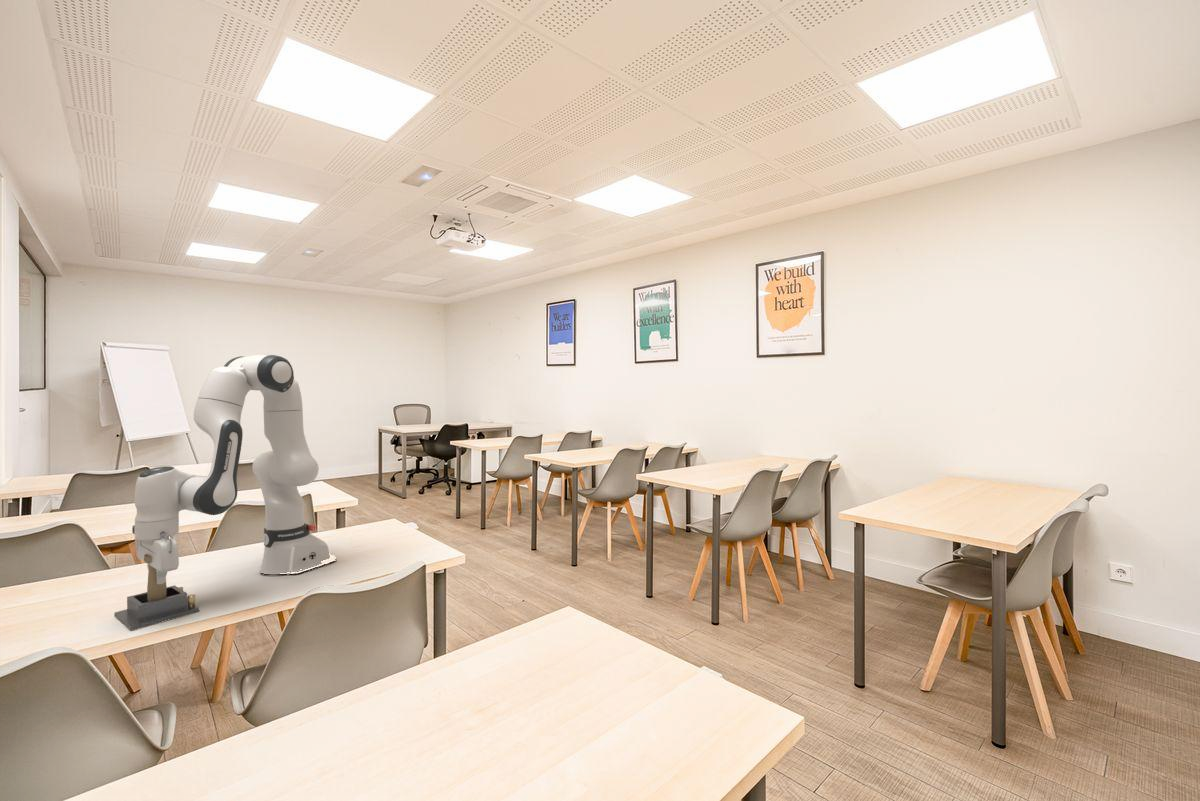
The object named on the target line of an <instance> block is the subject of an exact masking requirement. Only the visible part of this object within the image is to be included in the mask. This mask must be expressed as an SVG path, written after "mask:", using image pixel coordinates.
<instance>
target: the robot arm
mask: <svg viewBox="0 0 1200 801" xmlns="http://www.w3.org/2000/svg"><path fill="white" fill-rule="evenodd" d="M294 374H295V373H294V369H293V365H292V364H291V363H290V362H289V360H288V359H287V358H285V357H283V356H280V355H274V354H269V355H268V354H253V355H248V356H247V355H245V356H237V357H233V358H231V359H230V360H228V361H227V362H225V364H224V365H223V366H218V367H216V368H214V369H211V371H210V372H209V374H208V376H207V377H206V379H205V381H204V383H203V384H202V387H201V389H200V392H199V394H198V396H197V399H196V403H195V406H194V410H193V420H194V422H195V424H196V426H197V427H198V428H199V429H200V430H201V431H202V432H203V433H205V434H207V435H208V437H210V438H211V439H212V441H213V444H214V447H213V448H214V449H213V454H212V459H211V466H210V470H209V471H210V472H209V474H208V475H207V476H203V475H196V474H191V473H186V472H184V471H181V470H179V469H176V468H175V466H165V465H164V466H156V467H153V468H150V469H145V470H144V471H142V472H141V473H139V475H138V476H137V479H136V482H135V487H134V488H135V490H134V505H135V507H136V508H135V509H136V515H135V517H134V525H132V528H131V532H132V534H133V535H134V540H135V544H134V545H135V552H136V557H137V558H138V559H139V560H140V561H142V562H144V563H146V562H145V561H144V555H145V554H147V555H149V556H150V557H152V562H151V563H150V564H148V563H146V564H147V565H146V566H147V571H149V565H150V566H152V567H154V568H155V569H156V572H157V576H156V577H155V580H156V583H157V584H163V583H165V582H166V583H167V576H168V575H167V574H168V572H171V571H176V570H178V568H179V564H180V561H179V546H178V541H177V540H176V539H174V536H176V535H178V534H179V532H180V529H179V528H180V524H179V523H180V517H179V516H180V512H181V511H185V510H186V511H190V512H198V513H202V514H205V515H210V516H216V515H221V514H223V513H225V512H227V511H229V509H230V508H231V507H232V506H233V505H234V503H235V501H236V500H237V497H238V480H237V479H238V478H237V477H238V476H237V475H238V470H239V469H238V468H239V463H240V458H241V457H240V456H241V450H242V445H243V433H244V432H243V427H242V425H241V419H242V418H241V417H242V412H243V408H244V404H245V401H246V397H247V395H248V393H249V392H250V391H260V392H261V394H262V397H263V407H262V408H263V431H264V432H263V433H264V436H265V438H266V439H267V440H268V443H269V444H270V446H271V449H272V450H269V451H266V452H263V453H260V454H259V455H257V456H256V458H254V460H253V463H252V466H251V467H252V468H251V469H252V473H253V475H254V476H255V477H256V479H257V480H258V483H259V486H260V490H261V493H262V497H263V501H264V508H265V510H264V511H265V512H264V514H265V527H264V528H263V546H264V550H263V551H264V552H263V558H262V562H261V566H260V569H259V571H260V572H261V573H264V574H280V573H287V572H290V573H291V572H299V571H303V570H305V569H308V568H311V567H314V566H317V565H319V564H322V563H321V561H323V560H326V559H329V558H330V555H329V553H330V551H329V546H328V544H327V542H325V541H324V540H322V539H320V538H318V537H317V536H315V535H313V534H311V532H315V531H316V529H317V526H316V525H314V524H308V523H305V501H304V498H303V497H302V495H301V494H300V492H299V490H298V487H301V486H302V487H303V486H306V485H310V484H312V482H314V481H315V480H316V478H317V477H318V474H319V471H320V470H319V468H320V467H319V464H318V462H317V460H316V459H315V458H314V457H313V455H312V454H311V452H310V451H311V450H310V449H309V446H308V443H307V440H306V437H305V436H306V435H305V430H304V416H303V414H304V413H303V411H304V410H303V400H302V393H301V387H300V385H299V383H298V381H297V380H296V379H295V375H294ZM310 531H311V532H310ZM300 569H302V570H300ZM260 572H259V573H260ZM261 573H260V574H261ZM264 574H263V575H264Z"/></svg>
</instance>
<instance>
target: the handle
mask: <svg viewBox="0 0 1200 801" xmlns="http://www.w3.org/2000/svg"><path fill="white" fill-rule="evenodd" d="M144 561H145V562H146V564H147V563H148V564H150V563H151V562H152V557H150V556H149V555H147V554H145V555H144ZM144 561H143V562H144ZM145 562H144V563H145ZM147 571H148V570H147ZM147 575H148V576H147V585H146V588H147V589H146V592H147V597H148V602H150V601H154V600H158V599H162V598H166V587H167V581H166V582H165V583H163V584H157V583H156V580H155V577H156V576H157V572H156V569H155V568H154V567H152V566H150V565H149V571H148V573H147Z"/></svg>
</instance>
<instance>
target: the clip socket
mask: <svg viewBox="0 0 1200 801" xmlns="http://www.w3.org/2000/svg"><path fill="white" fill-rule="evenodd" d="M199 612H200V606H197V604H196V594H189V595H188V593H187V592H186V591H184V586H179V587H178V586H177V585H171V586H166V598H162V599H158V600H154V601H150V602H148V597H147V591H146V592H141V593H138V594H134V595H130V596H126V609H124V610H119V611H115V612H114V617H115V618H116V619H117V620H118V621H119V622H120V623H121V624H123V626H124V627H125V628H127V629H128V630H129V631H130V632H133V631H136V630H139V629H142V627H143V628H147V627H149V626H153V625H157V624H160V623H159V622H161V623H163V622H162V621H164V622H166V621H165V620H168V619H171V620H173V619H172V618H175V619H177V617H178V618H181V617H184V616H189V615H190V614H191V615H192V614H195V613H199ZM168 621H169V620H168ZM156 623H157V624H156ZM138 628H139V629H138ZM135 629H136V630H135Z"/></svg>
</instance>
